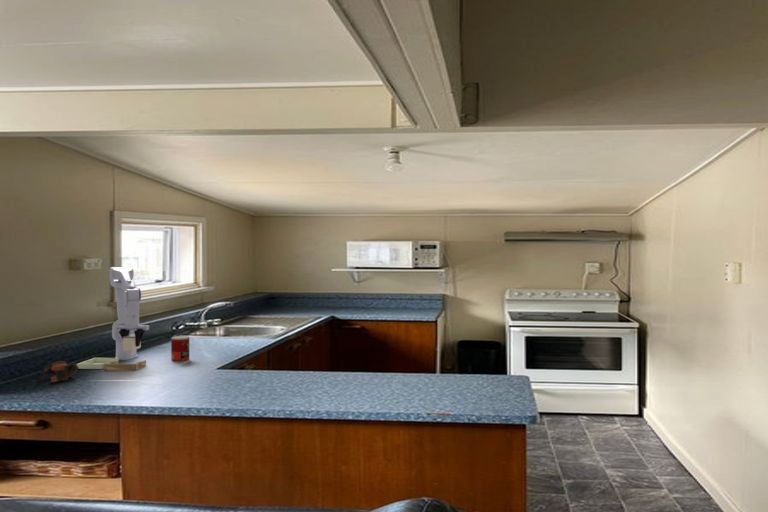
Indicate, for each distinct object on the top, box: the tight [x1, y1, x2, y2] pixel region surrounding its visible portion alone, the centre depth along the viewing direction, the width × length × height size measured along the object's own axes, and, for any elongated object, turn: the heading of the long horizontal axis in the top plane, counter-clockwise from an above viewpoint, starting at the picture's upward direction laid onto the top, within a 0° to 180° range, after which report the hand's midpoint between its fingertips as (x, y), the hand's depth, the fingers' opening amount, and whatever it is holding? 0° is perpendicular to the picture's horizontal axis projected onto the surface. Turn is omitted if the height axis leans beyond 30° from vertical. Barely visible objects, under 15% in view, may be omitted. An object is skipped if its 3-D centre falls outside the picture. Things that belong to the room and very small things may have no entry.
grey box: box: [123, 334, 142, 351], centre depth 230 cm, size 8×5×6 cm, turn 179°
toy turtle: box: [42, 360, 79, 383], centre depth 203 cm, size 12×9×8 cm
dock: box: [104, 359, 147, 372], centre depth 221 cm, size 10×13×3 cm
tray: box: [76, 357, 120, 370], centre depth 225 cm, size 13×11×2 cm
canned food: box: [170, 335, 190, 362], centre depth 239 cm, size 8×8×11 cm
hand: (132, 346), depth 229 cm, fingers closed on grey box, 4 cm apart
